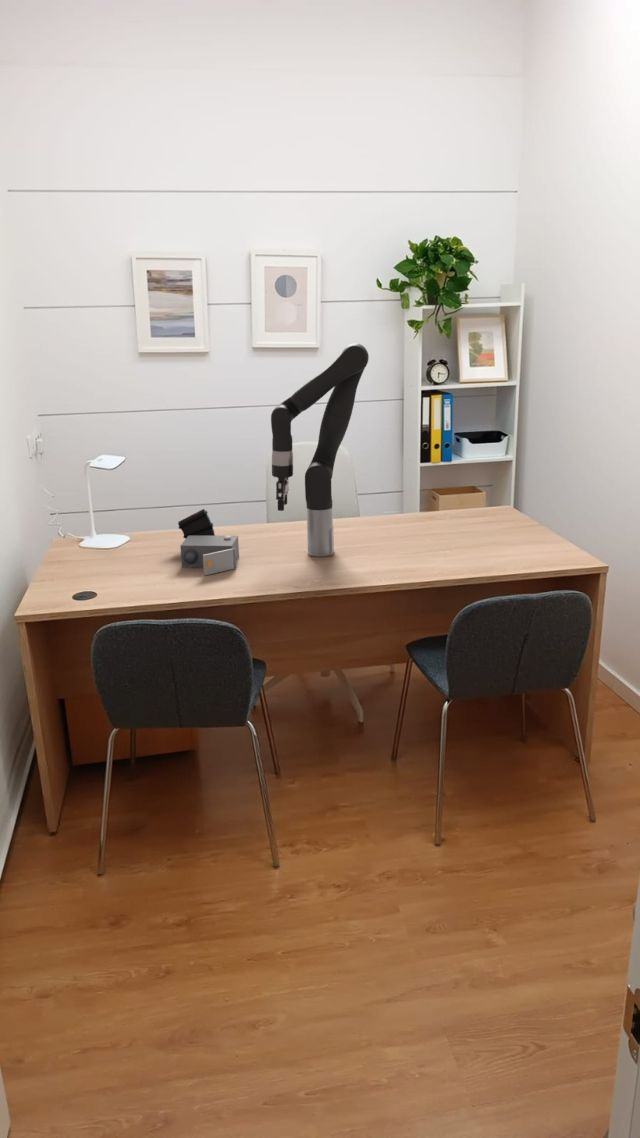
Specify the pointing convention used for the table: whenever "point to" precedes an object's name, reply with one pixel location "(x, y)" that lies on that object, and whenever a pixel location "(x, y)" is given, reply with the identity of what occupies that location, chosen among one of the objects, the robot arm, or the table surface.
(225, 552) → the side door
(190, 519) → the black piece
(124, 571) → the table surface
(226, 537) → the camera box
